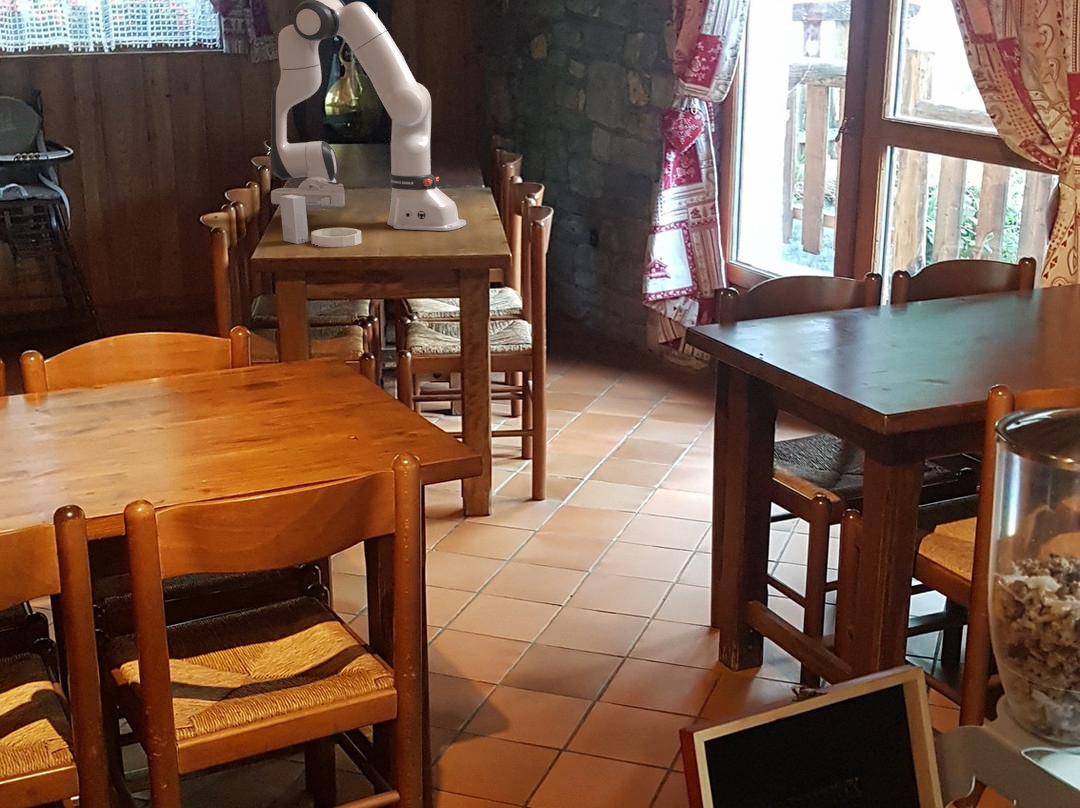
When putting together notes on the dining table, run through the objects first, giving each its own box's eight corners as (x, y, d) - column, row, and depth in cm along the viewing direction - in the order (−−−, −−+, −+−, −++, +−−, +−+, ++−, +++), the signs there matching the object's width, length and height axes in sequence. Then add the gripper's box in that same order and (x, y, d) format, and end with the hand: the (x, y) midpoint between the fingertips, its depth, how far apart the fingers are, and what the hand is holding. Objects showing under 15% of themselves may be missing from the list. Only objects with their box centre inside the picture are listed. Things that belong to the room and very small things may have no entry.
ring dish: (370, 239, 331) (370, 230, 330) (345, 248, 319) (345, 238, 318) (328, 235, 335) (328, 226, 334) (302, 244, 324) (301, 234, 323)
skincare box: (309, 242, 327) (307, 196, 323) (295, 244, 324) (292, 198, 320) (295, 238, 331) (292, 193, 327) (281, 241, 328) (278, 195, 324)
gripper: (276, 181, 348) (264, 189, 335) (348, 184, 347) (339, 191, 334) (277, 203, 350) (265, 212, 337) (349, 206, 349) (339, 215, 336)
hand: (302, 202), depth 335 cm, fingers open, 8 cm apart
